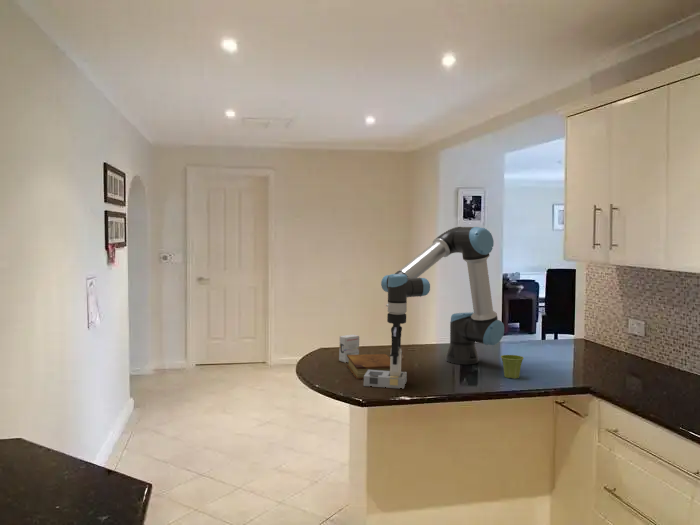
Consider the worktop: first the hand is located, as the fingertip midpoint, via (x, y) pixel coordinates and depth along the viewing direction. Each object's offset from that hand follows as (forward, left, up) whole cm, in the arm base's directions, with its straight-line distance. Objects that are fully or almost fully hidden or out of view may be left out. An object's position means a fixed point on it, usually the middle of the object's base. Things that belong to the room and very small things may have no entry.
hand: (395, 370), depth 242 cm
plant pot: (-47, -24, -6) cm, 53 cm away
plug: (0, 0, -3) cm, 3 cm away
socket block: (+4, 0, -6) cm, 7 cm away
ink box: (+26, -36, -6) cm, 45 cm away
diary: (+12, -18, -6) cm, 23 cm away
